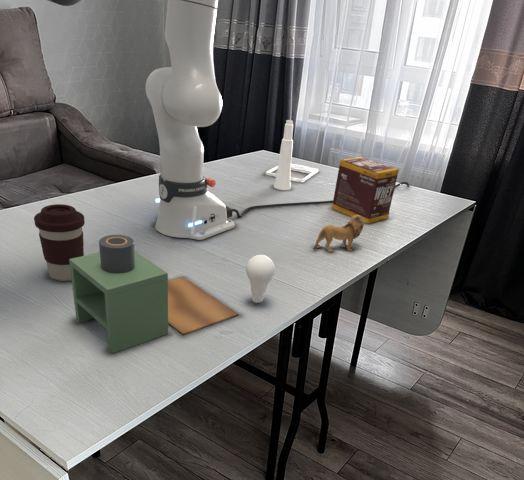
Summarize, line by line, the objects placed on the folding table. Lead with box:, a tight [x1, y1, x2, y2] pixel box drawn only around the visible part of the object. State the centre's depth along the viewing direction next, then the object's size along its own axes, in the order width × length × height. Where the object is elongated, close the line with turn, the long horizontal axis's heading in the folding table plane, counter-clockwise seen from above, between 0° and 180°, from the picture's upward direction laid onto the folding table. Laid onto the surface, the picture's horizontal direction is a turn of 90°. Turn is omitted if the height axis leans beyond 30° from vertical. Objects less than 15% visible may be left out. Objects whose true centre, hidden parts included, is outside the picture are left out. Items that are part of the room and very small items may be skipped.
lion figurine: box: [312, 215, 365, 253], centre depth 145 cm, size 15×5×9 cm, turn 116°
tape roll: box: [98, 234, 136, 273], centre depth 96 cm, size 6×6×5 cm
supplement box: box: [331, 156, 400, 225], centre depth 169 cm, size 10×15×16 cm
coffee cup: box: [33, 203, 85, 282], centre depth 117 cm, size 10×10×15 cm
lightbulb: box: [245, 254, 276, 304], centre depth 115 cm, size 6×6×11 cm
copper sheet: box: [168, 276, 239, 336], centre depth 114 cm, size 14×20×1 cm
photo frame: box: [265, 162, 320, 184], centre depth 204 cm, size 15×1×18 cm
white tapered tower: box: [273, 119, 294, 191], centre depth 182 cm, size 6×6×22 cm
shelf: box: [69, 250, 169, 354], centre depth 101 cm, size 12×14×13 cm
